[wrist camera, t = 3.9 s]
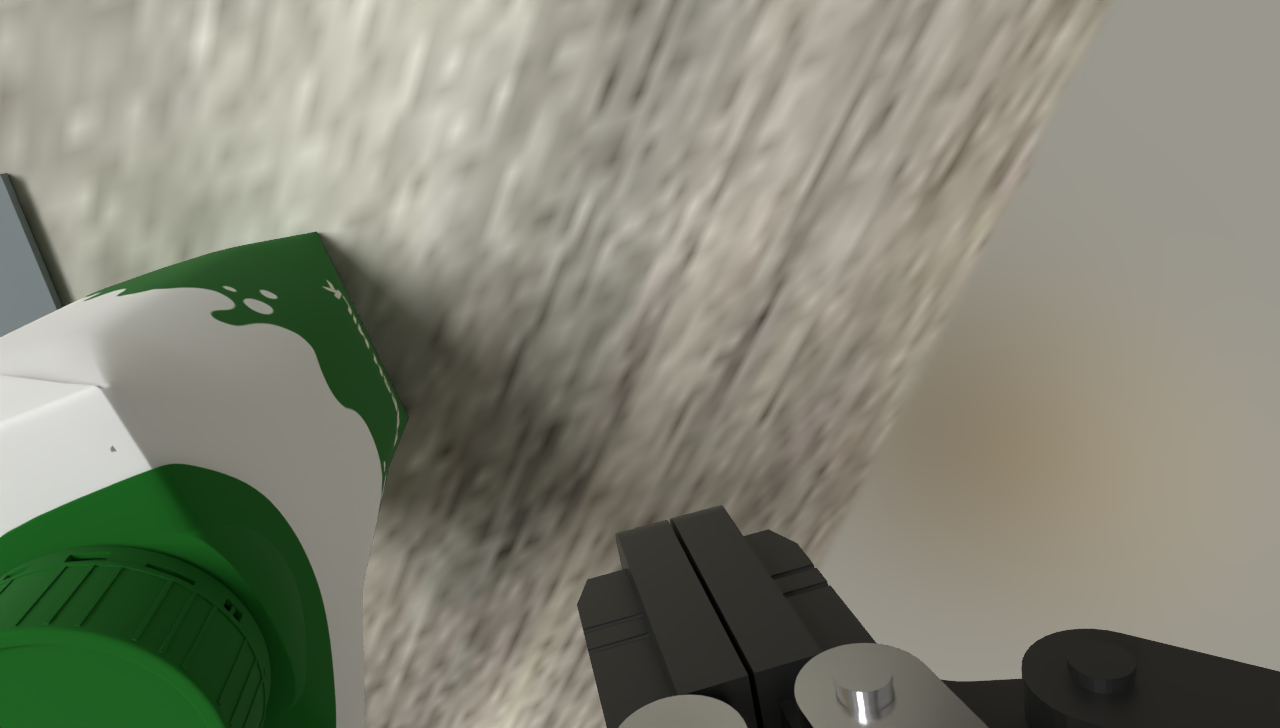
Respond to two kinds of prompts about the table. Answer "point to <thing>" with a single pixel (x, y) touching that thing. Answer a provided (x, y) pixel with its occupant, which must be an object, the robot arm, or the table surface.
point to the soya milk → (192, 498)
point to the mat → (21, 268)
